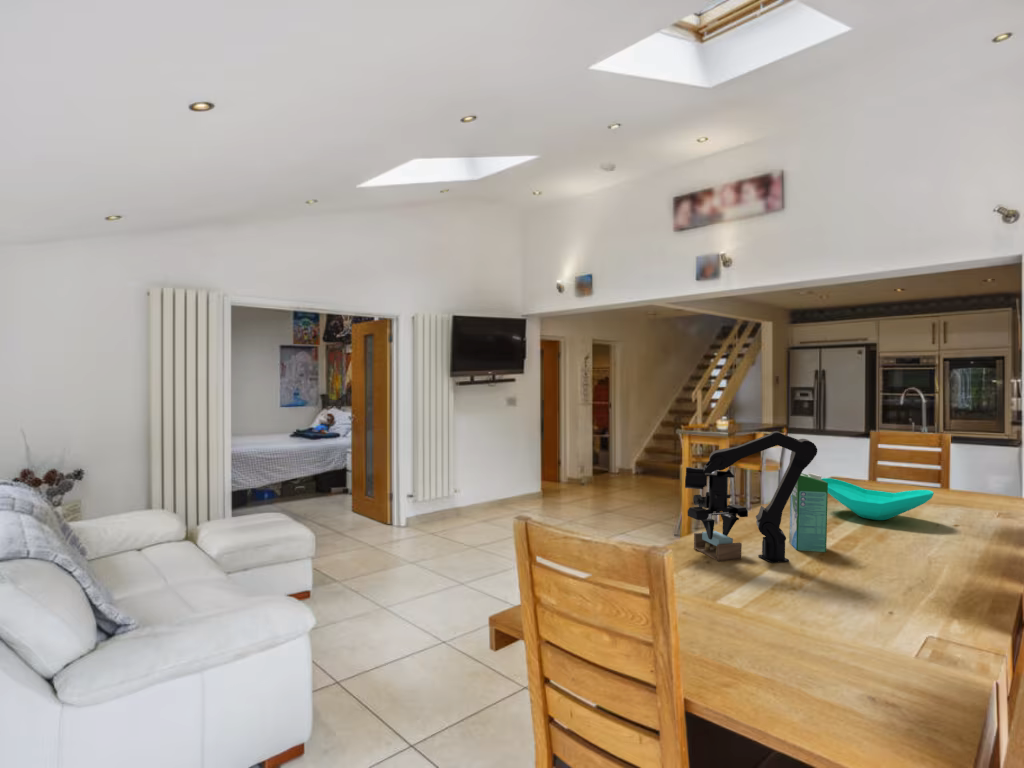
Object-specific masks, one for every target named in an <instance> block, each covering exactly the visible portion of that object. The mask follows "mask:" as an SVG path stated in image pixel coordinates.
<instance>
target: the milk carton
mask: <svg viewBox="0 0 1024 768" xmlns="http://www.w3.org/2000/svg"><path fill="white" fill-rule="evenodd" d="M822 478H823V477H822V475H820V474H816V473H814V472H808V474H806V473H803V472H802V473H801V475H800V477H799V479H798V481H797V483H796V485H795V487H794V489H793V491H792V493H791V495H790V497H789V501H790V502H789V504H790V505H789V535H788V536H789V540H788V543H789V544H791V546H792V547H793V548H794V549H795V550H796V551H801V552H803V551H804V552H817V553H827V542H828V541H827V539H828V538H827V536H828V535H827V533H828V531H827V529H828V502H829V501H828V500H829V499H828V496H829V495H828V494H829V493H828V483H827V482H825V481H823V480H822Z"/></svg>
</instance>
